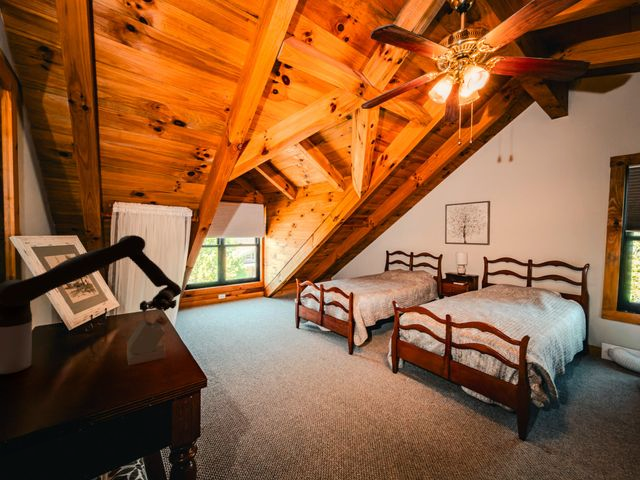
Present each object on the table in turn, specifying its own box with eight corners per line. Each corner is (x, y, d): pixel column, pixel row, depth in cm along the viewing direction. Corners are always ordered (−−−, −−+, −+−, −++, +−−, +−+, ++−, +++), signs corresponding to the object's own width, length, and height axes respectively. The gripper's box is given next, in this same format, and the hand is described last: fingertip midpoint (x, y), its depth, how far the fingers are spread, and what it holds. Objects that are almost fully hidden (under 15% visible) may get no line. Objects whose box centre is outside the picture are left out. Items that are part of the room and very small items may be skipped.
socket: (128, 365, 110) (129, 328, 110) (126, 355, 119) (127, 320, 119) (165, 357, 118) (166, 323, 118) (161, 348, 127) (162, 316, 127)
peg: (135, 346, 115) (160, 316, 120) (135, 343, 118) (159, 315, 124) (144, 351, 117) (168, 321, 122) (143, 348, 120) (167, 319, 125)
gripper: (146, 292, 131) (134, 300, 116) (179, 291, 136) (173, 299, 120) (145, 308, 132) (134, 318, 116) (179, 306, 136) (172, 317, 120)
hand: (154, 309), depth 118 cm, fingers open, 7 cm apart
